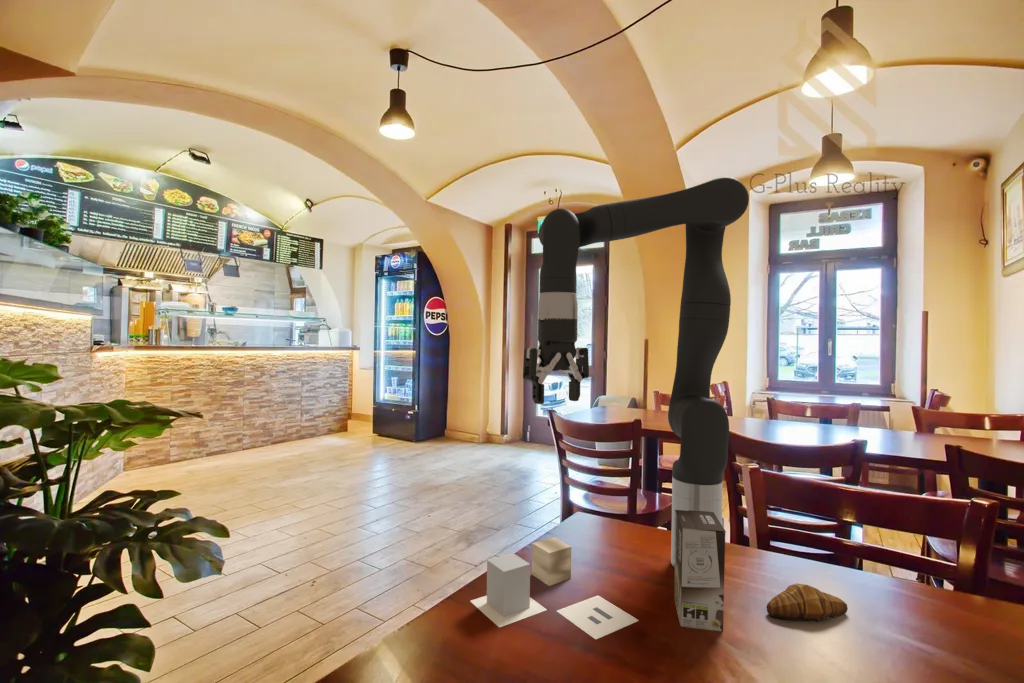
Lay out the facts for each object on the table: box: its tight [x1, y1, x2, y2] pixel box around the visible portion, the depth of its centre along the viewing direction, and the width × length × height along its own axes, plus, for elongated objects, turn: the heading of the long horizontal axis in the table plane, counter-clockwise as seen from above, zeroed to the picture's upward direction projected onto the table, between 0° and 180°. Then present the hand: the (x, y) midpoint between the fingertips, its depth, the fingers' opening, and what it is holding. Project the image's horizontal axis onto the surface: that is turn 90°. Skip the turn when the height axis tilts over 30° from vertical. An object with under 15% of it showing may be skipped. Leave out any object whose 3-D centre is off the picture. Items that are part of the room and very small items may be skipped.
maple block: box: [531, 536, 572, 587], centre depth 92 cm, size 5×5×7 cm
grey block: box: [486, 552, 531, 617], centre depth 82 cm, size 5×5×7 cm
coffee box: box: [673, 510, 727, 632], centre depth 80 cm, size 9×6×16 cm
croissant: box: [766, 583, 849, 622], centre depth 82 cm, size 14×7×5 cm, turn 96°
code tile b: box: [469, 594, 548, 628], centre depth 82 cm, size 9×9×1 cm
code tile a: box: [556, 594, 640, 640], centre depth 79 cm, size 9×9×1 cm
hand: (556, 402), depth 97 cm, fingers open, 8 cm apart
